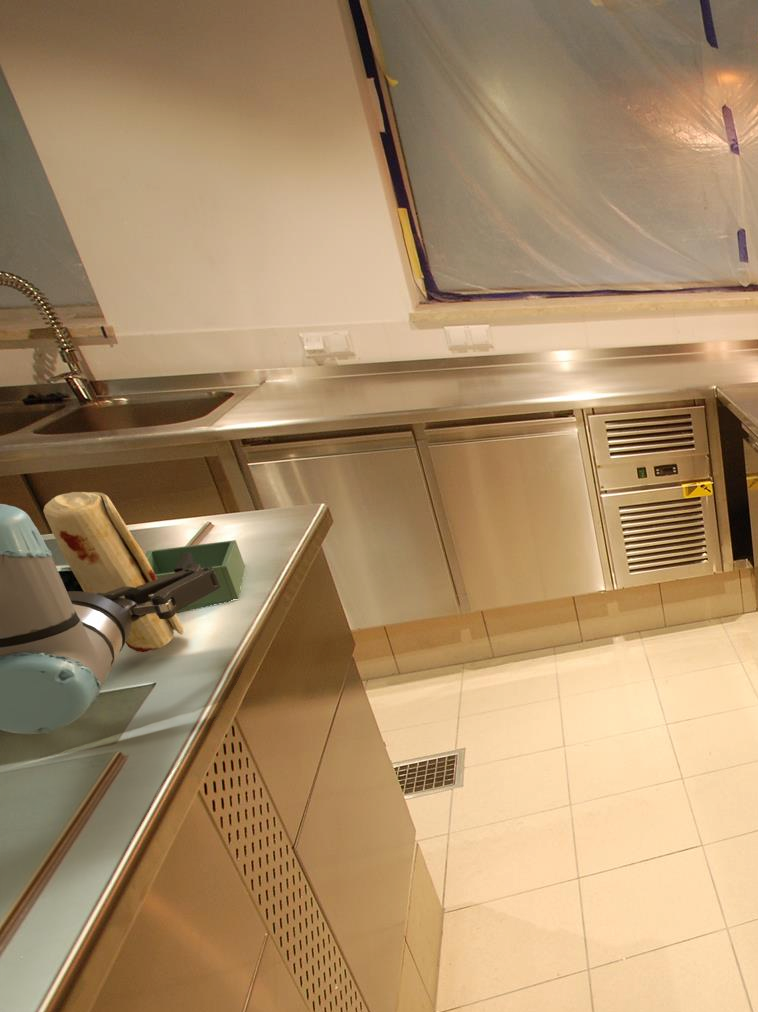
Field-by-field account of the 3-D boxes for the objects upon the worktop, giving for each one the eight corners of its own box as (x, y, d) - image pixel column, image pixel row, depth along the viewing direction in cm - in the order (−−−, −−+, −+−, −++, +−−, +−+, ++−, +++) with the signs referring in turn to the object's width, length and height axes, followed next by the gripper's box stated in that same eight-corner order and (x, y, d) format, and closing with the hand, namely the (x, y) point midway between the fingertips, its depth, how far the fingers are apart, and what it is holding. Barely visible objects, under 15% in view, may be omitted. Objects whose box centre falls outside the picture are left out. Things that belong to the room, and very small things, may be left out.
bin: (145, 617, 114) (129, 579, 112) (161, 586, 124) (147, 550, 122) (239, 602, 120) (226, 566, 117) (248, 574, 130) (235, 539, 127)
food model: (122, 635, 109) (33, 490, 98) (187, 619, 113) (108, 477, 102) (122, 666, 102) (28, 515, 92) (191, 647, 106) (108, 500, 96)
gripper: (-92, 701, 79) (-17, 622, 95) (241, 644, 92) (258, 582, 108) (-134, 629, 76) (-50, 560, 92) (217, 580, 89) (238, 527, 105)
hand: (116, 572), depth 100 cm, fingers open, 13 cm apart
